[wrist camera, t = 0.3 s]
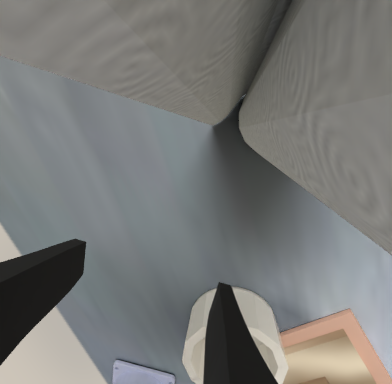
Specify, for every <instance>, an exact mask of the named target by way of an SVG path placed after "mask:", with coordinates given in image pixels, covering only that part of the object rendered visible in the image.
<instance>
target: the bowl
mask: <svg viewBox="0 0 392 384" xmlns="http://www.w3.org/2000/svg"><path fill="white" fill-rule="evenodd" d="M231 287H232V289H233V292H234V295H235V298H236V300H237V303H238V306H239V308H240V311H241V313H242V316H243V318H244V320H245V323H246V325H247V327H248V329H249V332H250V334H251V336H252V338H253V340H254V342H255V344H256V346H257V348H258V350H259V352H260V354H261V355H262V357H263V359H264V361H265V362H266V364H267V366H268V368H269V369H270V371H271V373H272V374H273V376H274V378H275V379H276V381H277V382H278V384H283V381H284V379H285V376H286V374H287V371H288V369H289V367H288V363H287V360H286V356H285V352H284V348H283V344H282V340H281V336H280V332H279V328H278V325H277V323H276V320H275V316H274V313H273V311H272V309H271V307H270V306H269V304H268V303H267V302H266V301H265V300H264V299H263V298H262V297H260V296H259V295H258V294H256V293H254V292H252V291H250V290H247V289H244V288H240V287H233V286H231ZM216 290H217V288H214V289H212V290H209V291H207V292H206V293H204V294H203V295H201V296H200V297H199V298H198V299H197V301H196V302H195V304H194V306H193V307H192V311H191V316H190V321H189V326H188V331H187V336H186V341H185V346H184V352H183V357H182V362H183V364H184V366H185V368H186V370H187V372H188V374H189V376H190V378H191V380H192V381H193V382H195V383H196V384H203V376H204V355H205V335H206V328H207V321H208V315H209V311H210V308H211V305H212V302H213V299H214V296H215V293H216Z"/></svg>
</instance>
